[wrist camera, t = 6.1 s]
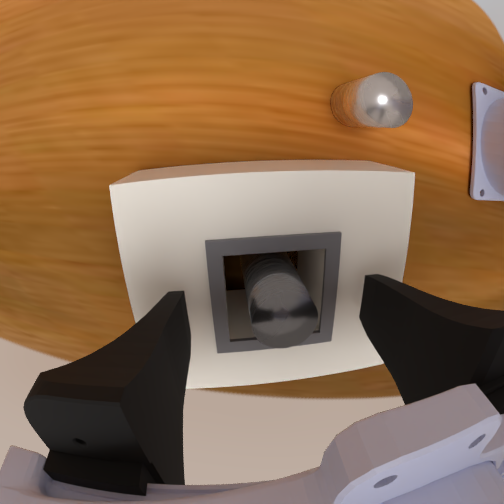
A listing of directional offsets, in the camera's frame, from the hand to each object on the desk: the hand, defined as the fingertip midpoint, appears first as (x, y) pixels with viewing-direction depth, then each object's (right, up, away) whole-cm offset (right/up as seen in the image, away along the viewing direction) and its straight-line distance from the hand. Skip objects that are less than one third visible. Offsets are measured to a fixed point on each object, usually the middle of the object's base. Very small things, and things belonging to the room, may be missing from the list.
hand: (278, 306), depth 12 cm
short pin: (+4, +10, +2) cm, 11 cm away
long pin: (-1, +2, +5) cm, 5 cm away
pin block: (-1, +2, +5) cm, 5 cm away
